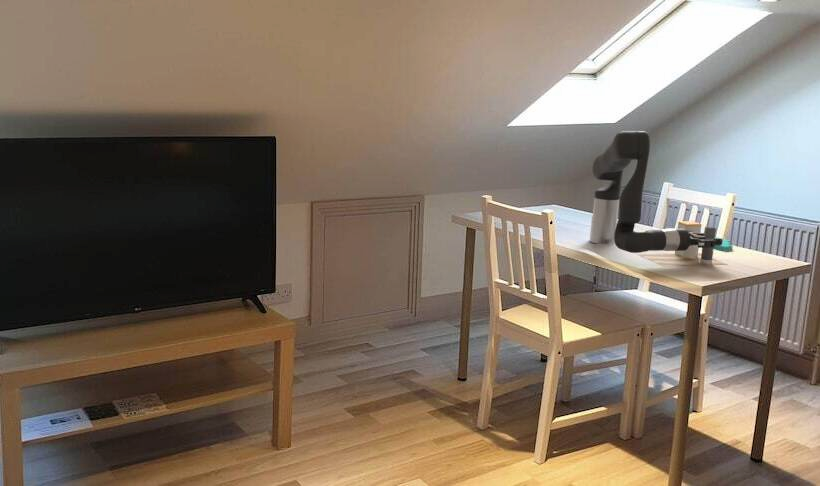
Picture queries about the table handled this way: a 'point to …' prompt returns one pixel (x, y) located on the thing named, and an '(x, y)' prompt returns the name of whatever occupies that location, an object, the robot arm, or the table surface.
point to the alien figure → (724, 245)
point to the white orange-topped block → (691, 227)
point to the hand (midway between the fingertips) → (714, 238)
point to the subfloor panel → (677, 260)
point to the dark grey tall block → (708, 252)
